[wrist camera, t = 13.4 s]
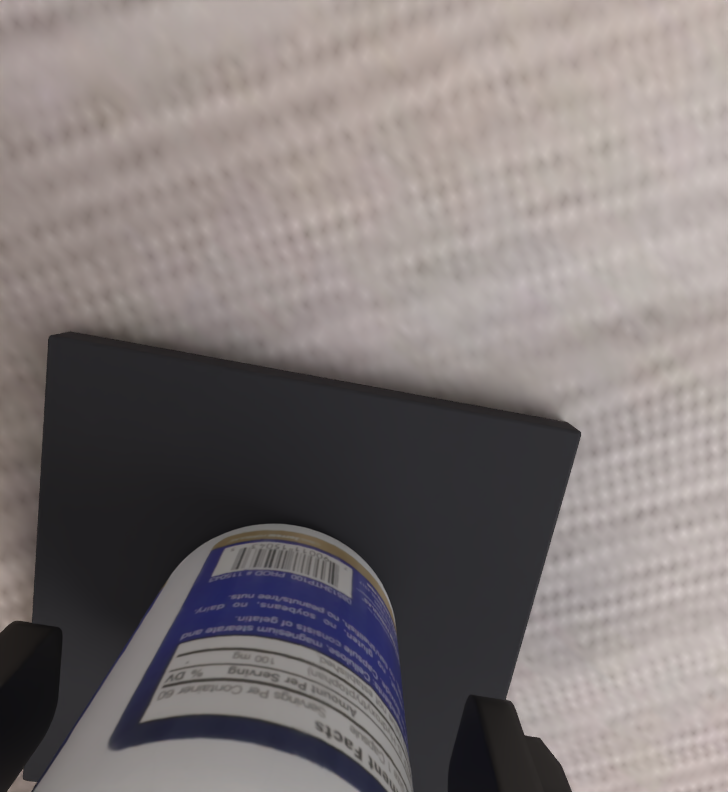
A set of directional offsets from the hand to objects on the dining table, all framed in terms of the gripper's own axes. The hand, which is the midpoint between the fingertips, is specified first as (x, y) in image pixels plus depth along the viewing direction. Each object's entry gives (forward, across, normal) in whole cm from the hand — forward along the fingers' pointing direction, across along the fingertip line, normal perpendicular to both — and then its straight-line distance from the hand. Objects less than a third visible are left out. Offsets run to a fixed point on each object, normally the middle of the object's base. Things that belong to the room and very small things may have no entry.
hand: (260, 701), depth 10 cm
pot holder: (+3, 0, 0) cm, 3 cm away
